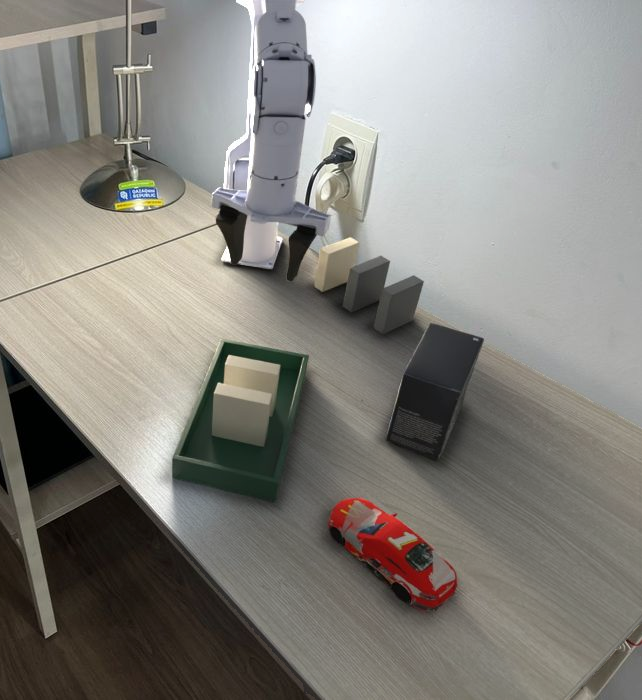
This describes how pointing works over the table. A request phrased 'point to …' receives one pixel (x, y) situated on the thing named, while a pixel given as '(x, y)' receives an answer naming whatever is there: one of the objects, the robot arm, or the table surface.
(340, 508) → the race car
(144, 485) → the table surface
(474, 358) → the small box
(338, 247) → the cream square block
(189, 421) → the shallow dark green tray
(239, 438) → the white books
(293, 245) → the robot arm
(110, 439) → the table surface
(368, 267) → the grey twin slabs
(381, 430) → the table surface
